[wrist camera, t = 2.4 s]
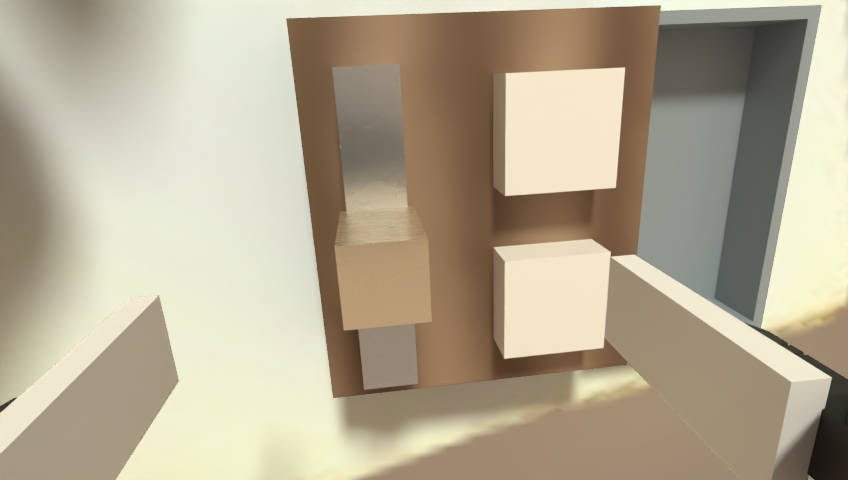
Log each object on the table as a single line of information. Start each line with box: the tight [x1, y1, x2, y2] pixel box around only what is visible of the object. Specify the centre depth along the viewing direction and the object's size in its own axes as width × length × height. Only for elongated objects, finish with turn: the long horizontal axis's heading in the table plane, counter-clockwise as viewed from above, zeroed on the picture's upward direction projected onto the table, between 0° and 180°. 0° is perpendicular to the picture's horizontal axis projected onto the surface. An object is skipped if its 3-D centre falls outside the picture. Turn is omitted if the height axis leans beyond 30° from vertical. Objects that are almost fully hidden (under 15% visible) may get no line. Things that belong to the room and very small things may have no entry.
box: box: [637, 5, 822, 328], centre depth 28 cm, size 9×18×4 cm, turn 3°
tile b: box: [493, 67, 625, 196], centre depth 21 cm, size 5×5×2 cm
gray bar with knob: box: [332, 64, 432, 390], centre depth 19 cm, size 3×14×7 cm, turn 3°
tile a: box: [493, 239, 611, 359], centre depth 24 cm, size 5×5×2 cm
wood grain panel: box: [287, 6, 661, 398], centre depth 26 cm, size 16×18×6 cm
